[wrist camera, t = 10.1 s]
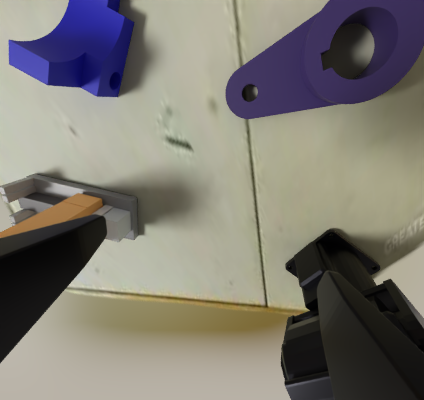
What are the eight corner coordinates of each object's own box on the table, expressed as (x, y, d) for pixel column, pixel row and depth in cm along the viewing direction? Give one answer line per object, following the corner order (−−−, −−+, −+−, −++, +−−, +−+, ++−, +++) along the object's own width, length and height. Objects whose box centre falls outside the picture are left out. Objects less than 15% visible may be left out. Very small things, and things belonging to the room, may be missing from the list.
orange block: (102, 198, 24) (-6, 264, 14) (106, 232, 26) (14, 308, 16) (77, 192, 24) (-43, 252, 15) (83, 226, 26) (-19, 297, 17)
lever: (394, -24, 13) (429, -57, 10) (398, 83, 15) (429, 80, 13) (217, 62, 17) (207, 54, 14) (239, 137, 19) (235, 144, 16)
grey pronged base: (136, 197, 24) (113, 215, 20) (138, 235, 27) (117, 257, 23) (34, 173, 26) (-4, 186, 22) (44, 211, 28) (11, 228, 25)
